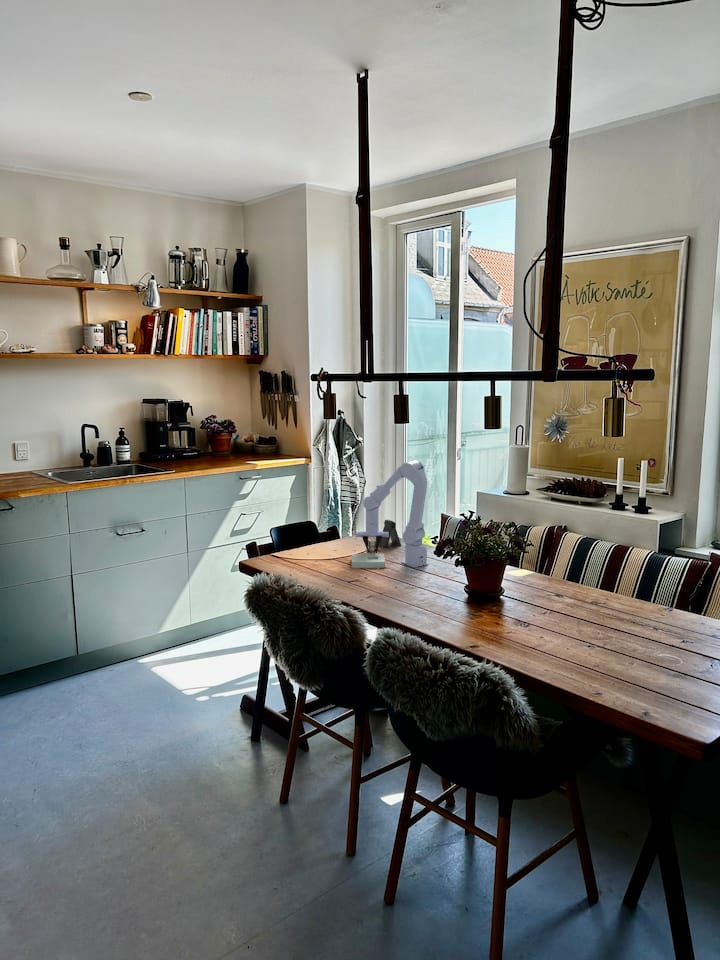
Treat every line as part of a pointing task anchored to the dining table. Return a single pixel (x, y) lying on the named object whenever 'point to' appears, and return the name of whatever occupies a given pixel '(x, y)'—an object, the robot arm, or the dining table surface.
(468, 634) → the dining table surface
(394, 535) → the phone stand
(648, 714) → the dining table surface
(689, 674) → the dining table surface
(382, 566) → the hole board
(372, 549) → the peg
